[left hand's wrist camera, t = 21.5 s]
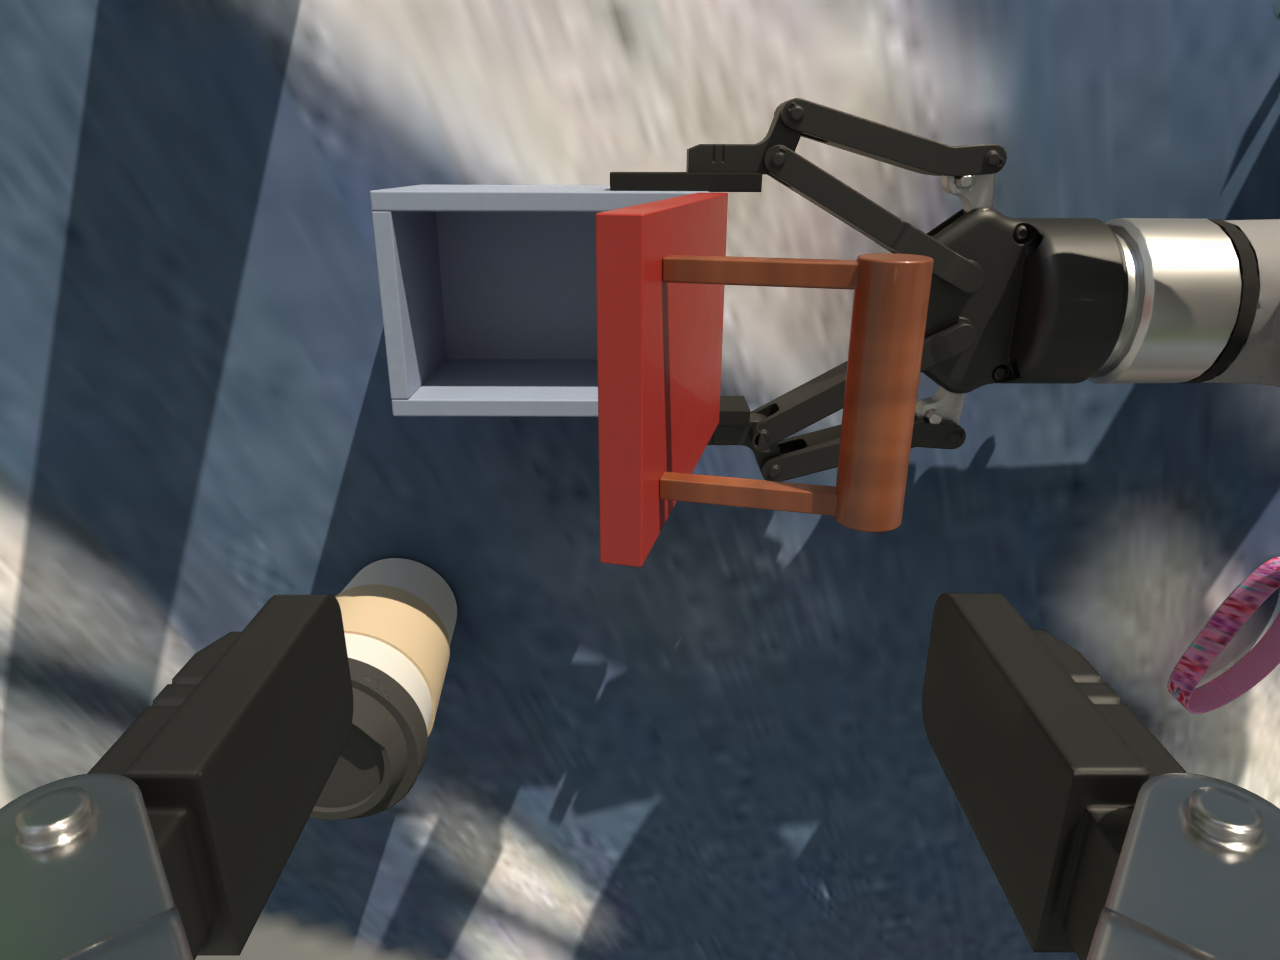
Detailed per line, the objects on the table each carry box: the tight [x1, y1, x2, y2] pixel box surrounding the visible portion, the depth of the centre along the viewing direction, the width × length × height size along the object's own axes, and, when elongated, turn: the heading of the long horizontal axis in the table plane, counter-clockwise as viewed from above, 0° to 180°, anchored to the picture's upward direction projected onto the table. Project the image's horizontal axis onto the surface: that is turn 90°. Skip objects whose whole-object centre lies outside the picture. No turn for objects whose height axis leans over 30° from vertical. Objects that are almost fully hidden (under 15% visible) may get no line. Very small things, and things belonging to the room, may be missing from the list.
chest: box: [370, 185, 710, 417], centre depth 41 cm, size 14×10×9 cm
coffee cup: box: [309, 558, 457, 820], centre depth 46 cm, size 9×9×15 cm
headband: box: [1168, 557, 1280, 714], centre depth 52 cm, size 11×4×2 cm, turn 155°
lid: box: [595, 193, 934, 567], centre depth 29 cm, size 15×10×8 cm
